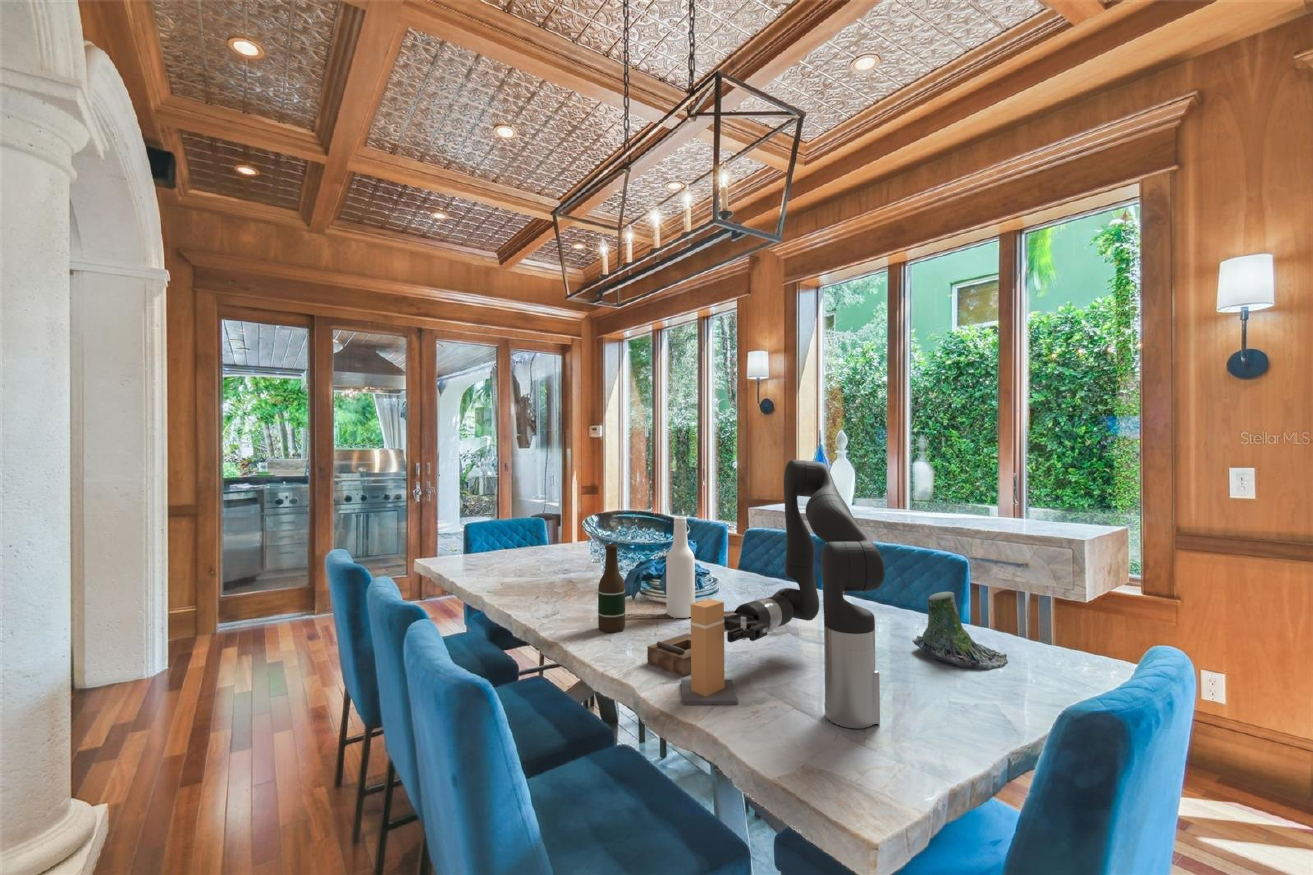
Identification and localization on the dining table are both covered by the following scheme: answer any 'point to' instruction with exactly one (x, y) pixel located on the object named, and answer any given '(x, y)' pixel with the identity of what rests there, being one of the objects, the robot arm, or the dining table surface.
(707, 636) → the striped orange pillar
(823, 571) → the robot arm
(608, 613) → the beer bottle
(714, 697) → the pad
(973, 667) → the tree stump
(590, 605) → the dining table surface
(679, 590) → the alcohol
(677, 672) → the brown socket base
